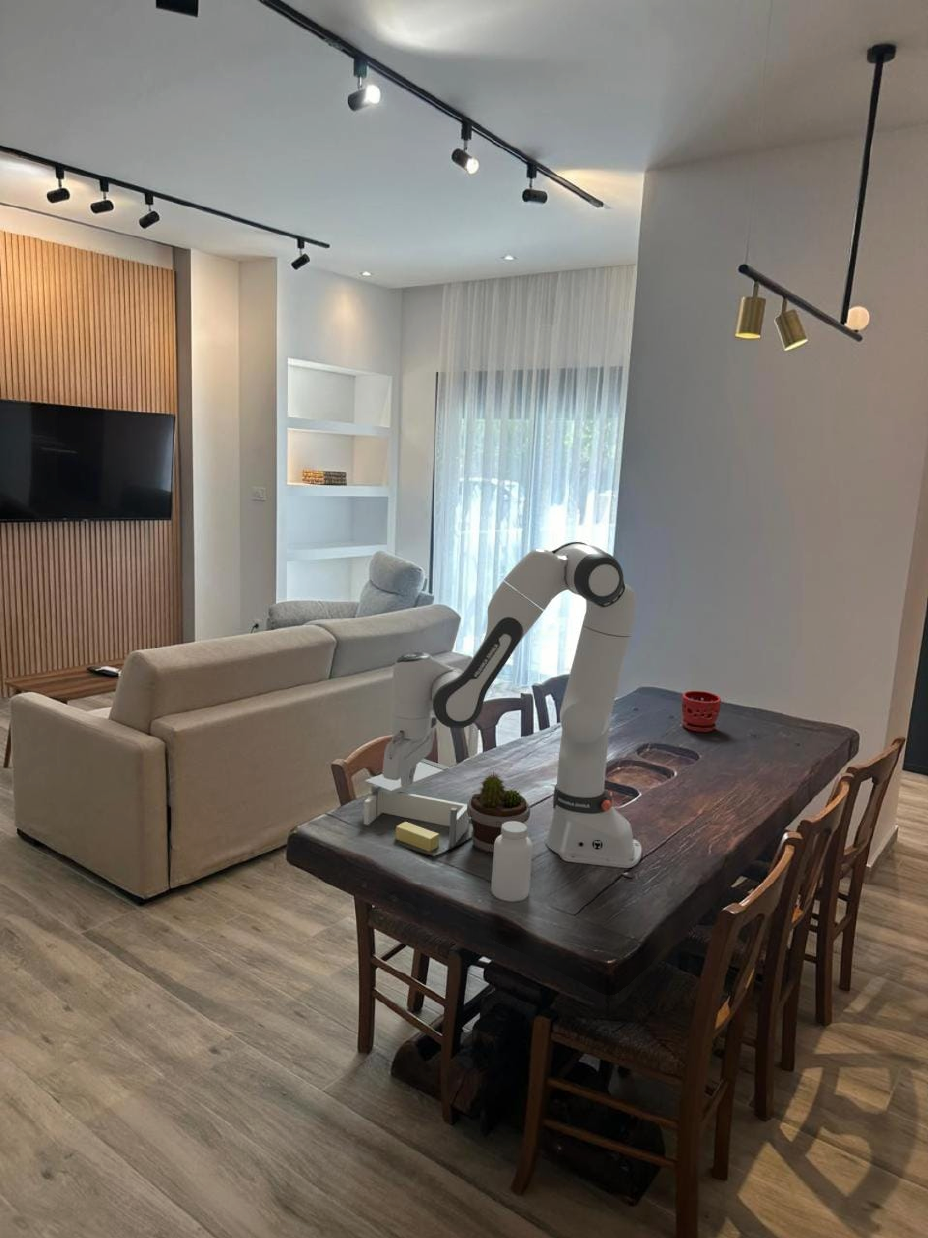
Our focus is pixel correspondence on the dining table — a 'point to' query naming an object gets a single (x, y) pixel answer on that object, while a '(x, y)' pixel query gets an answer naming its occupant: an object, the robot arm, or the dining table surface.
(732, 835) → the dining table surface
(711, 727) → the plant pot
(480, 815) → the flowerpot
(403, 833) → the yellow rectangular block
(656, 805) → the dining table surface
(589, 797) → the robot arm
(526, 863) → the pill bottle
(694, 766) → the dining table surface
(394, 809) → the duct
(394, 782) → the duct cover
